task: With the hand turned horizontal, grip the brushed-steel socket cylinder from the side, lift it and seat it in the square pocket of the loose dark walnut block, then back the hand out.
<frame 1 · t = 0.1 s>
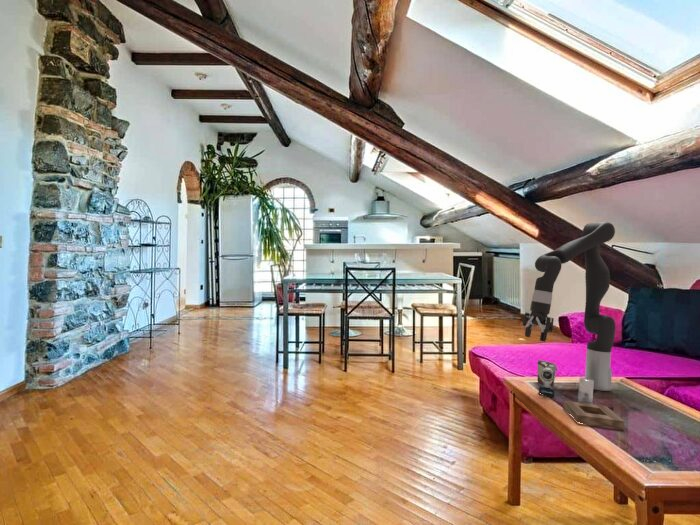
hand: (534, 338, 161), 22 cm above the table, tool pointing down, fingers open, 8 cm apart
food container: (548, 386, 169), on the table
steel socket: (584, 404, 147), on the table
watch: (546, 394, 157), on the table
walnut socket block: (591, 420, 133), on the table
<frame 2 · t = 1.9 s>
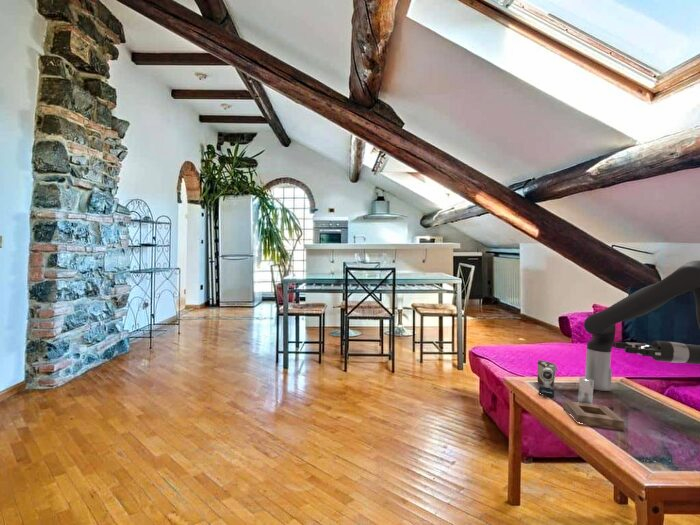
hand: (620, 347, 145), 24 cm above the table, tool horizontal, fingers open, 8 cm apart
nothing on the table moved.
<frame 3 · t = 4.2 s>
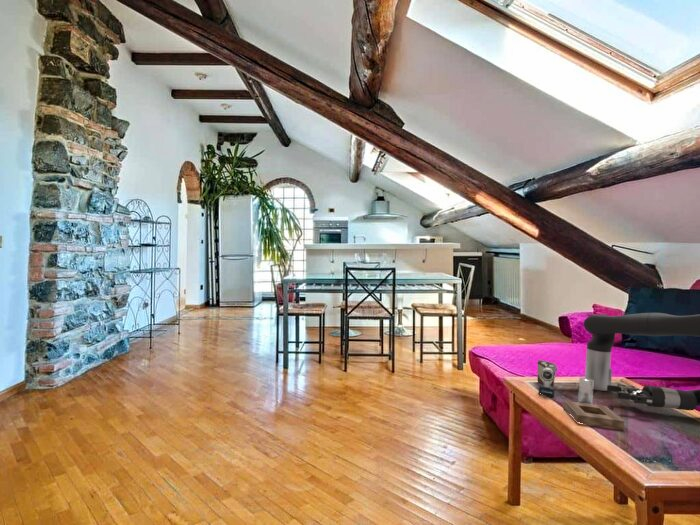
hand: (612, 391, 145), 7 cm above the table, tool horizontal, fingers open, 8 cm apart
nothing on the table moved.
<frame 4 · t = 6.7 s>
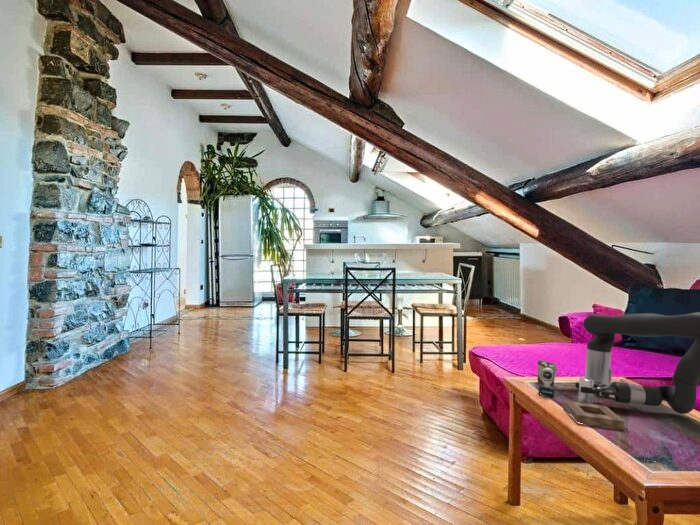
hand: (578, 387, 148), 7 cm above the table, tool horizontal, fingers closed on steel socket, 4 cm apart
steel socket: (584, 404, 147), on the table, touching gripper
everything else where it was.
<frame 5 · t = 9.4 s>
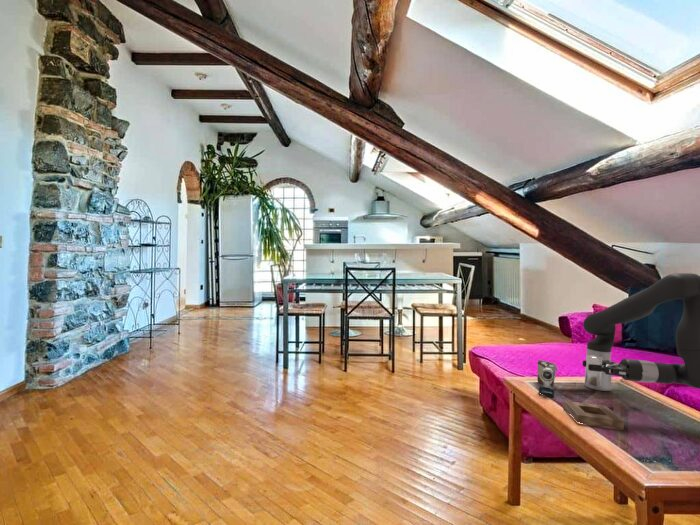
hand: (585, 365, 138), 18 cm above the table, tool horizontal, fingers closed on steel socket, 4 cm apart
steel socket: (592, 383, 137), point 11 cm above the table, touching gripper
everything else where it was.
when the fingers open (9 cm above the table, at t = 12.4 s): steel socket drops 2 cm, resting on walnut socket block.
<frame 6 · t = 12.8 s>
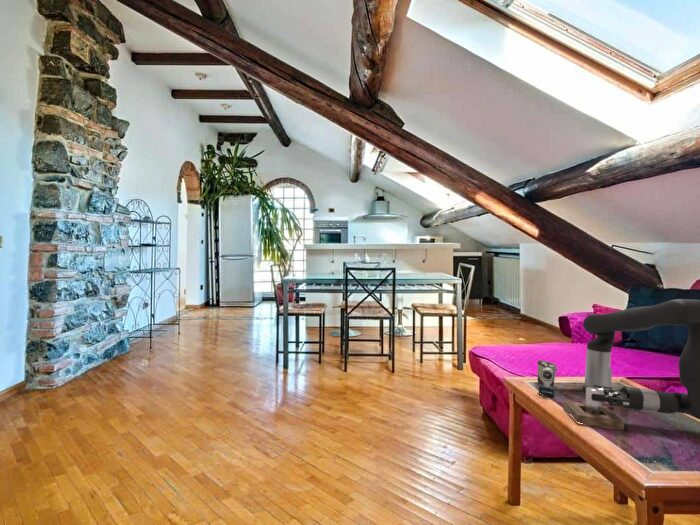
hand: (587, 392, 134), 9 cm above the table, tool horizontal, fingers open, 8 cm apart
steel socket: (592, 417, 133), resting on walnut socket block
walnut socket block: (591, 420, 133), on the table, touching steel socket
everything else where it was.
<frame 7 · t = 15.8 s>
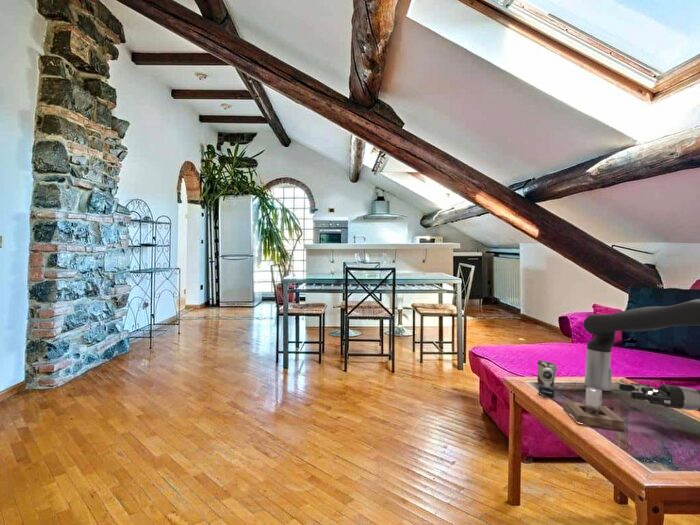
hand: (625, 390, 133), 11 cm above the table, tool horizontal, fingers open, 8 cm apart
nothing on the table moved.
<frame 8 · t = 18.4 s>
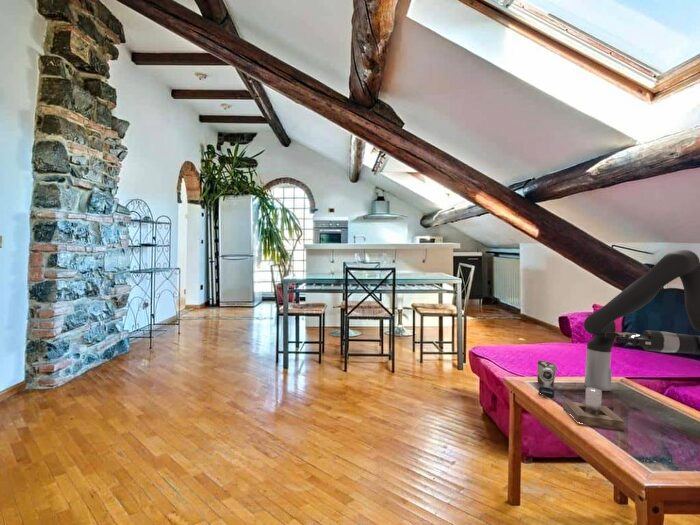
hand: (610, 336, 143), 28 cm above the table, tool horizontal, fingers open, 8 cm apart
nothing on the table moved.
at the end: steel socket 0.1 cm off-centre on the walnut socket block, point 1.0 cm above the walnut socket block's base; steel socket tilted 0°; walnut socket block moved 0.5 cm from its start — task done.
